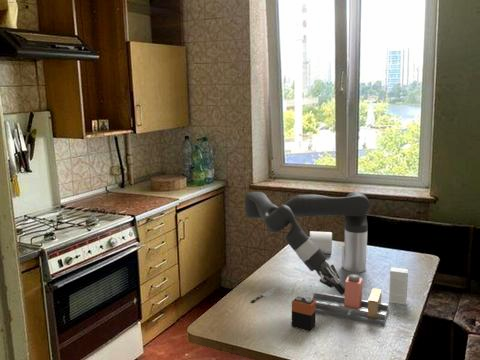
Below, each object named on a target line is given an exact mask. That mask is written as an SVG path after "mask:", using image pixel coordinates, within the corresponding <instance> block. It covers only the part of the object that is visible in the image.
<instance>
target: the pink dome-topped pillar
mask: <svg viewBox="0 0 480 360" xmlns="http://www.w3.org/2000/svg"><path fill="white" fill-rule="evenodd" d="M363 279H364V278H363V277H360V276H359V275H358V274H349V275H347V277H346V279H345V281H344V288H345V293H344V297H345V298H344V306H348V307H354V308H359V309H360V308H361V305H362V300H363V284H364V283H363Z"/></svg>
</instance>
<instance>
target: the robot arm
mask: <svg viewBox="0 0 480 360" xmlns="http://www.w3.org/2000/svg"><path fill="white" fill-rule="evenodd" d="M370 210H371V202H370V200H369V199H368V197H367V196H366V194H364V192H361V191H358V190H353V191H351V192H350V193H348V194H347V195H346V196H345V197H344V196H342V197H333V196H332V197H331V196H326V195H321V194H314V193H313V194H312V193H311V194H308V193H307V194H297V195H295V196H293V197H292V198H290V199H288V200H287V201H286V202H284V203H283V204H280V205H279V206H277V205H276V204H274V203H273V202H272V201H271V200H270V199H269V198H268V196H267V194H265V193H264V192H262V191H251V192H250V191H249V192H248V193H246V194H245V197H244V211H245V213H244V214H245V216H246V218H248V219H253V220H254V219H255V220H256V219H262V220H263V221H264V223H265V226H266V227H267V229H268V230H269V231H270V232H271V233H274V234H275V233H280V232H281V231H282V230H284V229H285V228H286V227H287V226H288V225H290V227H291V228H290V231H289V232H288V233H287V234H286V236H285V238H284V239H285V242H286V243H287V244H288V245H289V247H291V249H292V250H293V251H294V252H295V254H296V255H297V257H298V258H299V259H300V260H301V261H302V263H304V265H305V266H306V267H307V268H308V269H309V271H310V272H314V271H316V273H317V275H318V276H319V277H320V278H319V282H320V283H321V284H323V285H324V286H327V287H328V288H330V289H332V288H334V289H335V290H336V291H337V292H338V294H340V296H344V295H345V285H343V284H342V283H341V281H340V279H341V277H340V275H339V273H338V271H337V268H336V267H335V265H334V264H331V265H330V264H329V263H328V262H327V260H328V256H327V255H326V254H324V253H323V252H322V251H321V249H320V248H319V247H318V246H317V245H316V244H315V243H314V242H313V241H312V240H311V239H310V236H308V235H307V234H306V232H305V231H304V230H303V228H302V227H301V226H300V224H299V223H298V220H297V219H296V217H297V218H298V217H324V216H344V243H343V245H342V249H341V252H342V253H341V267H342V268H343V269H344V270H345V271H347V272H350V273H363V272H365V271H366V269H367V250H368V249H367V247H368V228H369V227H368V226H369V225H368V218H367V215H368V213H369V211H370Z"/></svg>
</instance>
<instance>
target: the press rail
mask: <svg viewBox="0 0 480 360" xmlns="http://www.w3.org/2000/svg"><path fill="white" fill-rule="evenodd" d="M382 291H383V290H382V289H380V288H372V289H371V291H370V292H371V293H370V294H369V297H368V300H366V299H362V305H361V308H360V309H359V308H354V307H348V306H344V298H345V295H337V294H331V293H326V292H325V293H324V292H319V291H313V293H312V297H311V299H312V300H315V301H316V314H321V315H325V316H330V317H331V316H332V317H336V318H341V319H346V320H351V321H357V322H363V323H367V324H372V325H378V326H385V324H386V320H387V317H388V313H389V309H390V308H389V303H384V302H382Z"/></svg>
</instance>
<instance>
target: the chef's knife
mask: <svg viewBox="0 0 480 360" xmlns="http://www.w3.org/2000/svg"><path fill="white" fill-rule="evenodd" d="M276 289H277V287H276V286H273V287H272V288H270V289H268V290H267V291H265V292H263V293H262V294H260V295H259V296H257V297H255V298H254V299H252V300H251V301H250V303H251V304H254V303H255V302H256V301H258V300H260V299H262V298H268V297H270V296H271V295H272V294H274V292H275V291H276Z"/></svg>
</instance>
